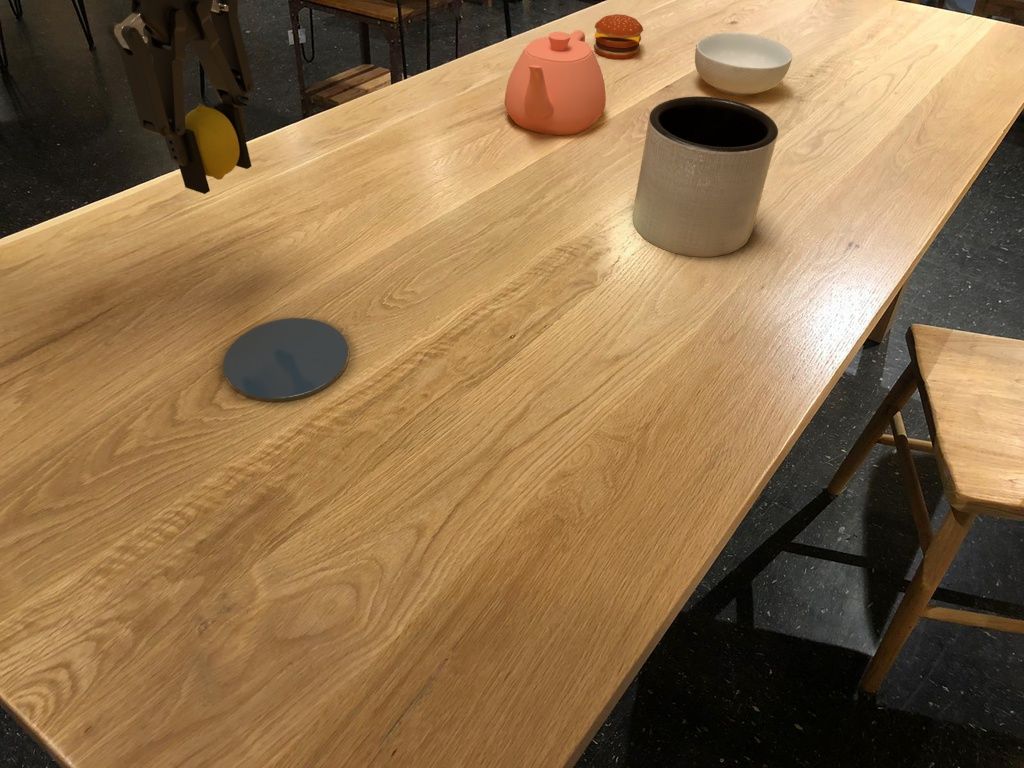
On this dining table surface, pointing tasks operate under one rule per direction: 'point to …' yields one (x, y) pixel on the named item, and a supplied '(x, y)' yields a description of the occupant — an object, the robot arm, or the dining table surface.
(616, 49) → the hamburger
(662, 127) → the planter
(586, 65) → the teapot
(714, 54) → the cereal bowl
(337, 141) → the dining table surface
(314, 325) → the plate
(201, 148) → the lemon
